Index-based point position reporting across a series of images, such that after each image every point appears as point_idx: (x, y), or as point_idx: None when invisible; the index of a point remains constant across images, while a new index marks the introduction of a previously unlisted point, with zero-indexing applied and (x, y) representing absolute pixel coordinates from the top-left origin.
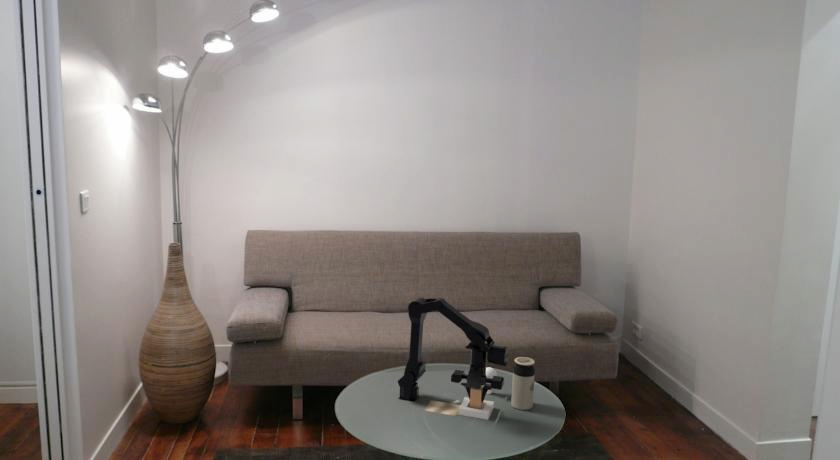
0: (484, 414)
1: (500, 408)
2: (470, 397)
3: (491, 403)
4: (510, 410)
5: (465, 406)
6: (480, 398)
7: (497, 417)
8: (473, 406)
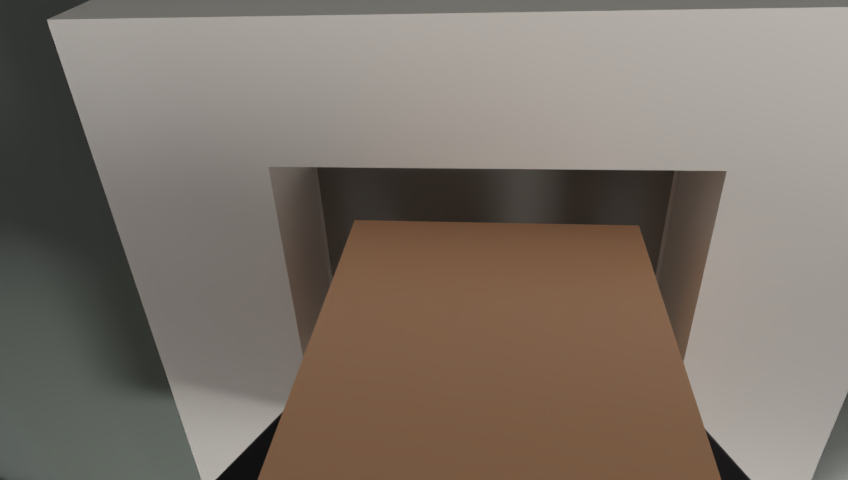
0: (178, 5)
1: (185, 449)
2: (690, 432)
3: (224, 463)
4: (46, 435)
5: (761, 192)
6: (292, 431)
7: (85, 196)
8: (536, 237)
